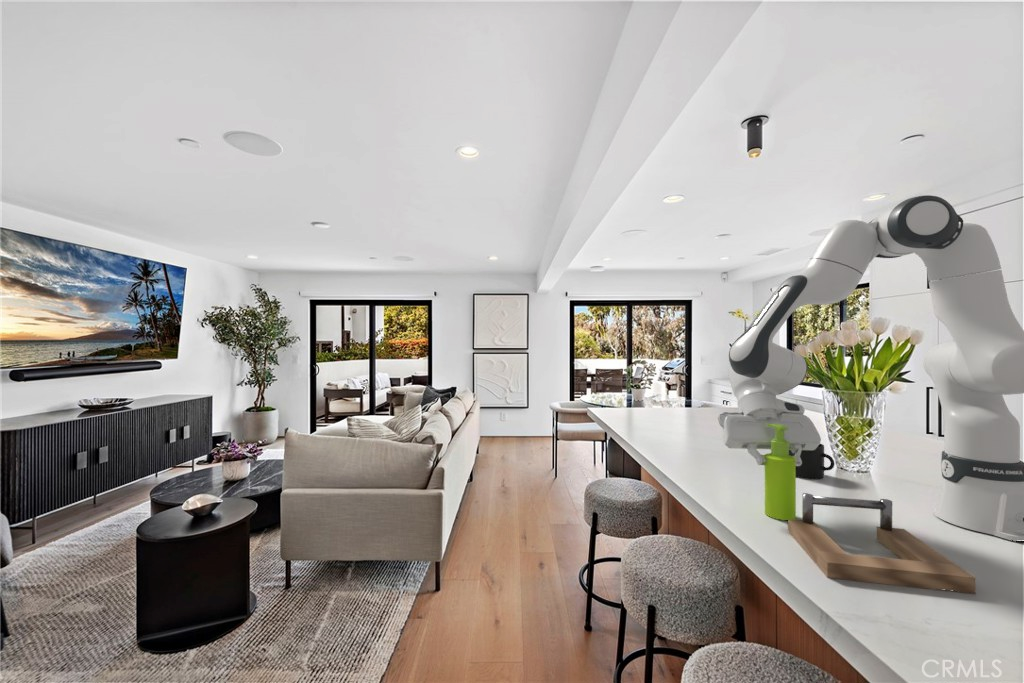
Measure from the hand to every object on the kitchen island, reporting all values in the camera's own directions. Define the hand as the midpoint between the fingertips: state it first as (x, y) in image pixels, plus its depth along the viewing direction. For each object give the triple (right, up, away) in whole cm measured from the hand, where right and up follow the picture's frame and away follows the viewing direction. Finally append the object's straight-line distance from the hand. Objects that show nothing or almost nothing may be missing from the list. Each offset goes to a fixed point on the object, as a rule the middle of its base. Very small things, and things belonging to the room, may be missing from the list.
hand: (780, 464), depth 98 cm
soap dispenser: (0, -12, +1) cm, 12 cm away
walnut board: (+4, -12, -19) cm, 23 cm away
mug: (+26, -11, +28) cm, 40 cm away
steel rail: (+6, -9, -11) cm, 16 cm away
